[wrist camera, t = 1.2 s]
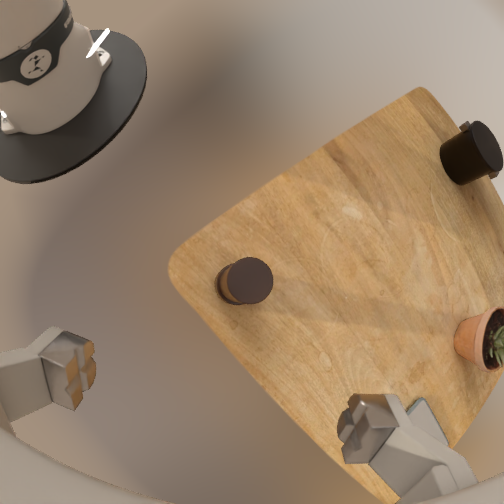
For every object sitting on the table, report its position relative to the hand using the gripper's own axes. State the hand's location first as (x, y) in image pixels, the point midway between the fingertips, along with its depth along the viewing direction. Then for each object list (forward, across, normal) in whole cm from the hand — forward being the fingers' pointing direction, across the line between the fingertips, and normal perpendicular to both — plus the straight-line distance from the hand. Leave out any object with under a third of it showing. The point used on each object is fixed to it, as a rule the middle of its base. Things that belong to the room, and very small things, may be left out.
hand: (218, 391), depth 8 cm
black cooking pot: (+37, -32, -17) cm, 52 cm away
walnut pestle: (+22, 0, +6) cm, 23 cm away
